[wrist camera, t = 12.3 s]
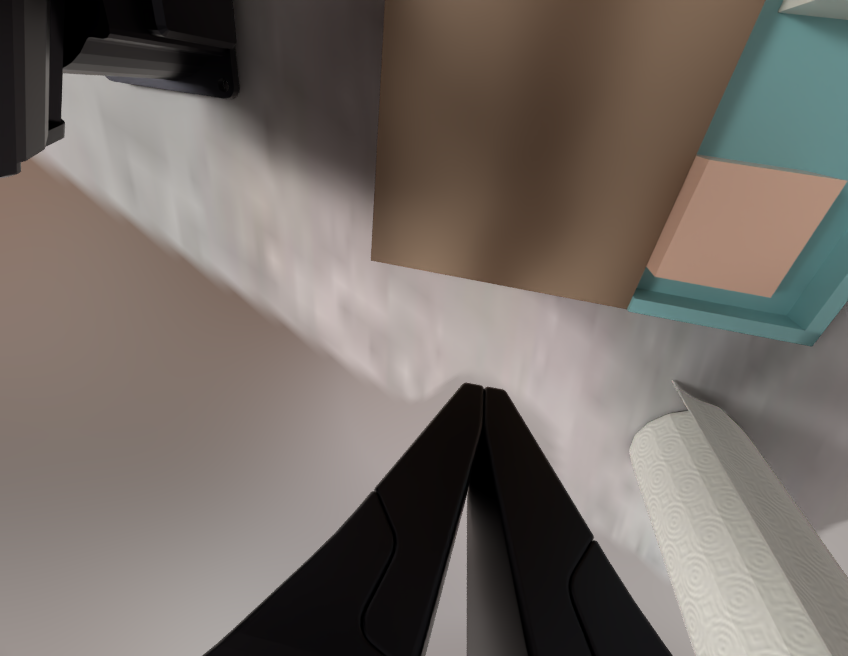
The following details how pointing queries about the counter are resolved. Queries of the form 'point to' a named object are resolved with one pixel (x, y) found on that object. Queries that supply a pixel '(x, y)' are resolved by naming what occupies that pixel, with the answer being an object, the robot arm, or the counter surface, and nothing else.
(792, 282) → the tray
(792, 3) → the cream tile
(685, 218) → the terracotta block
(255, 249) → the counter surface
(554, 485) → the robot arm
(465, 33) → the walnut plate
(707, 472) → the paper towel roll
